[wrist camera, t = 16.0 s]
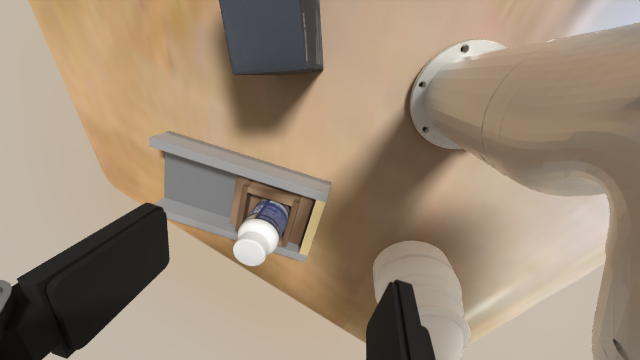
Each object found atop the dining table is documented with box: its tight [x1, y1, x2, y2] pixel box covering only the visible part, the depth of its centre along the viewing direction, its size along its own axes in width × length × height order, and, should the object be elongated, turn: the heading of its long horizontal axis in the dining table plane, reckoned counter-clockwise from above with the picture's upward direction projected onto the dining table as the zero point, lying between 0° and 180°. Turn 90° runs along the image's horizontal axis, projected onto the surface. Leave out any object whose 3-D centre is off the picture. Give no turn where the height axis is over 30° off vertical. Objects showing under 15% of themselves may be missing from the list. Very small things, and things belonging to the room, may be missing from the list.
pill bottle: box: [233, 198, 290, 266], centre depth 32 cm, size 5×5×10 cm
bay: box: [150, 131, 331, 262], centre depth 37 cm, size 26×13×4 cm, turn 74°
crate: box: [229, 175, 314, 248], centre depth 37 cm, size 12×9×4 cm
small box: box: [219, 0, 323, 75], centre depth 23 cm, size 13×7×12 cm, turn 4°
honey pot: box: [372, 241, 471, 360], centre depth 33 cm, size 13×13×18 cm
